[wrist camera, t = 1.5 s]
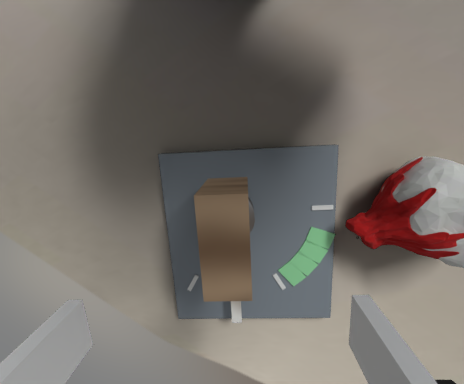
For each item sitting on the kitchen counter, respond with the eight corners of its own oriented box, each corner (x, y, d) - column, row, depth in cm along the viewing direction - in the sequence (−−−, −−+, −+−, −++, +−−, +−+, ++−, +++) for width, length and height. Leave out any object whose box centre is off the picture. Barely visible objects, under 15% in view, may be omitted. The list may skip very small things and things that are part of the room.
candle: (488, 214, 28) (356, 257, 32) (461, 124, 25) (323, 183, 29) (584, 258, 19) (387, 309, 23) (556, 128, 17) (343, 210, 21)
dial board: (161, 153, 28) (157, 154, 27) (335, 144, 27) (339, 145, 26) (180, 312, 33) (178, 319, 32) (327, 311, 32) (331, 318, 31)
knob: (206, 174, 27) (185, 195, 18) (252, 172, 27) (256, 193, 17) (217, 312, 32) (205, 391, 22) (257, 312, 31) (262, 392, 22)
